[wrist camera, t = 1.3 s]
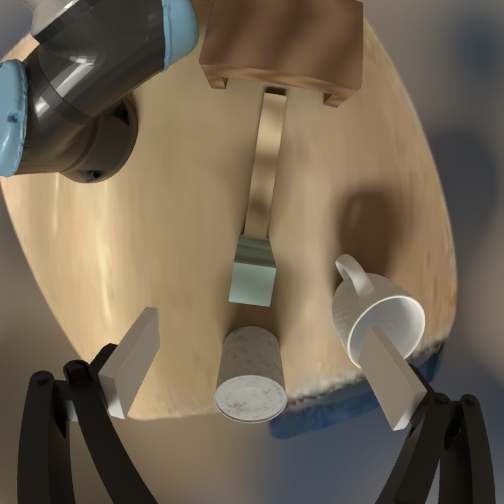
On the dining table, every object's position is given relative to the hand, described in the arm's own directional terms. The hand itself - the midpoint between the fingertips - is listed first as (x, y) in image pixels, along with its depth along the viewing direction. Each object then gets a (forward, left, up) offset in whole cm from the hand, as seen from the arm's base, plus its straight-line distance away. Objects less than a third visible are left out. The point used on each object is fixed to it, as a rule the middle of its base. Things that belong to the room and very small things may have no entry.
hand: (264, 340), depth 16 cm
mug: (+16, +1, -25) cm, 30 cm away
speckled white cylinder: (+7, -16, -25) cm, 30 cm away
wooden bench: (-11, +27, -25) cm, 38 cm away
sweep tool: (-4, +9, -24) cm, 26 cm away
